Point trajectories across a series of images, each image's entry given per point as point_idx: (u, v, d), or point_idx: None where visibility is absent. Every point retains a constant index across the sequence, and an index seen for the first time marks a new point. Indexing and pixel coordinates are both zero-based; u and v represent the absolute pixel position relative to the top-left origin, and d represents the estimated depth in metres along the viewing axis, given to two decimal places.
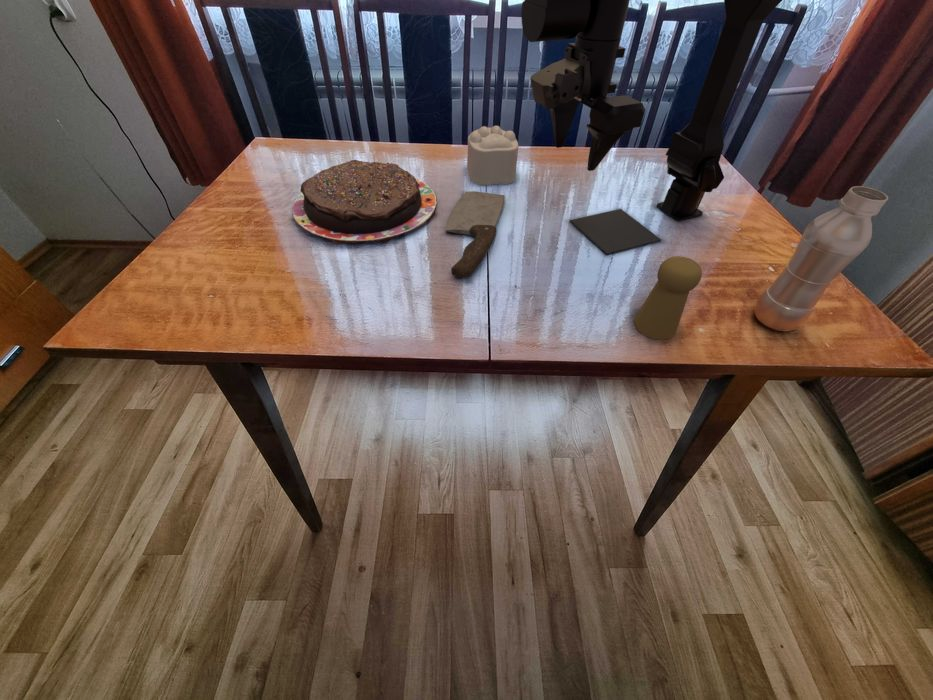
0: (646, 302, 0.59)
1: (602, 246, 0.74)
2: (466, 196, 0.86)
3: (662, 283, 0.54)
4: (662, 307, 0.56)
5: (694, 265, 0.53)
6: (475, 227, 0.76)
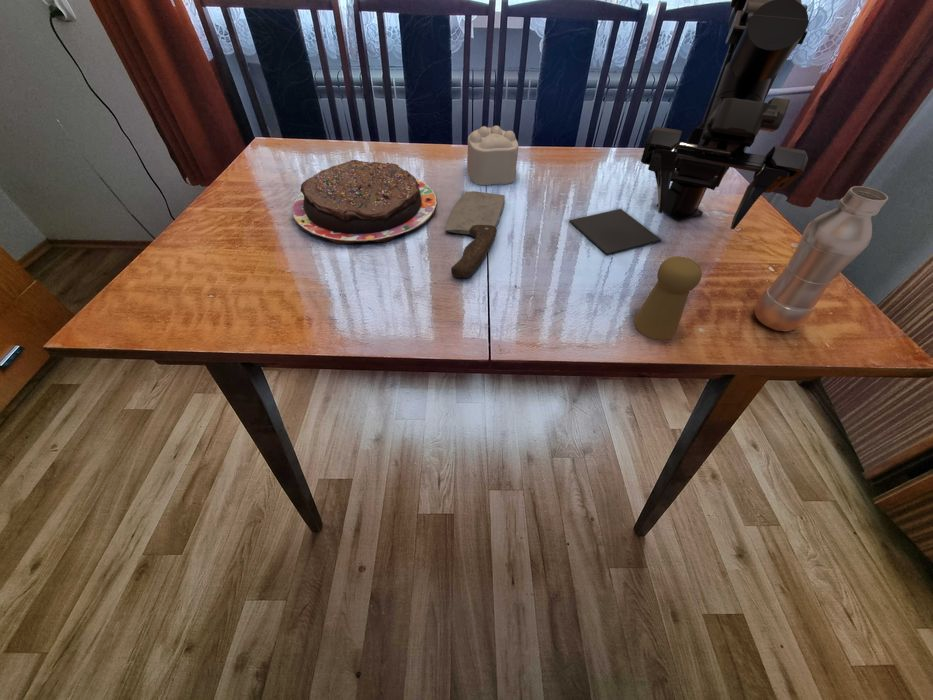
0: (646, 302, 0.59)
1: (602, 246, 0.74)
2: (466, 196, 0.86)
3: (662, 283, 0.54)
4: (662, 307, 0.56)
5: (694, 265, 0.53)
6: (475, 227, 0.76)
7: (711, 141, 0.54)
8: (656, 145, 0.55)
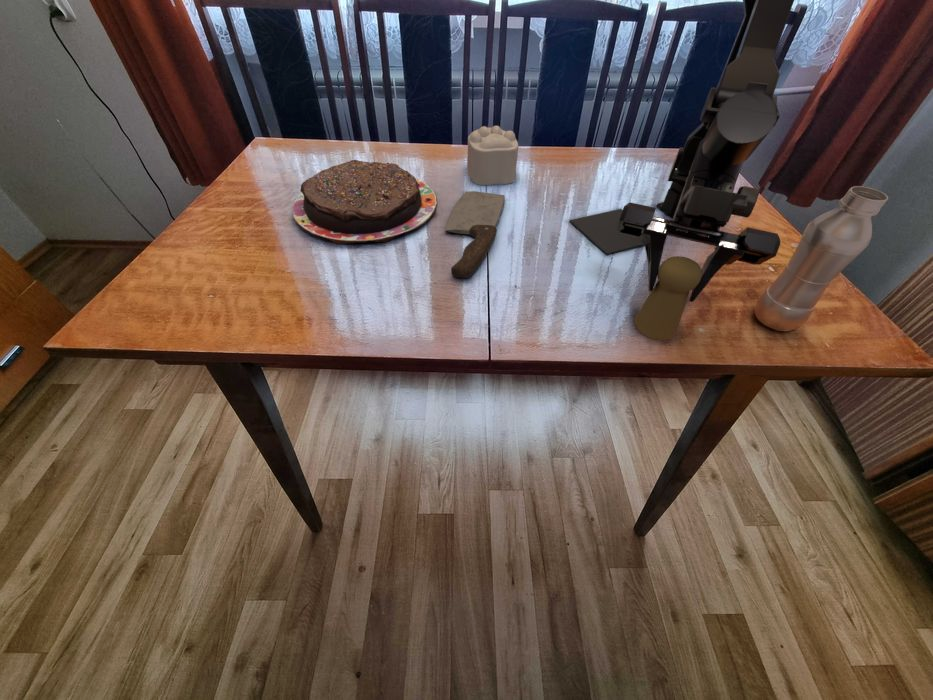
0: (646, 302, 0.59)
1: (602, 246, 0.74)
2: (466, 196, 0.86)
3: (662, 283, 0.54)
4: (662, 307, 0.56)
5: (694, 265, 0.53)
6: (475, 227, 0.76)
7: (685, 219, 0.54)
8: (630, 222, 0.55)
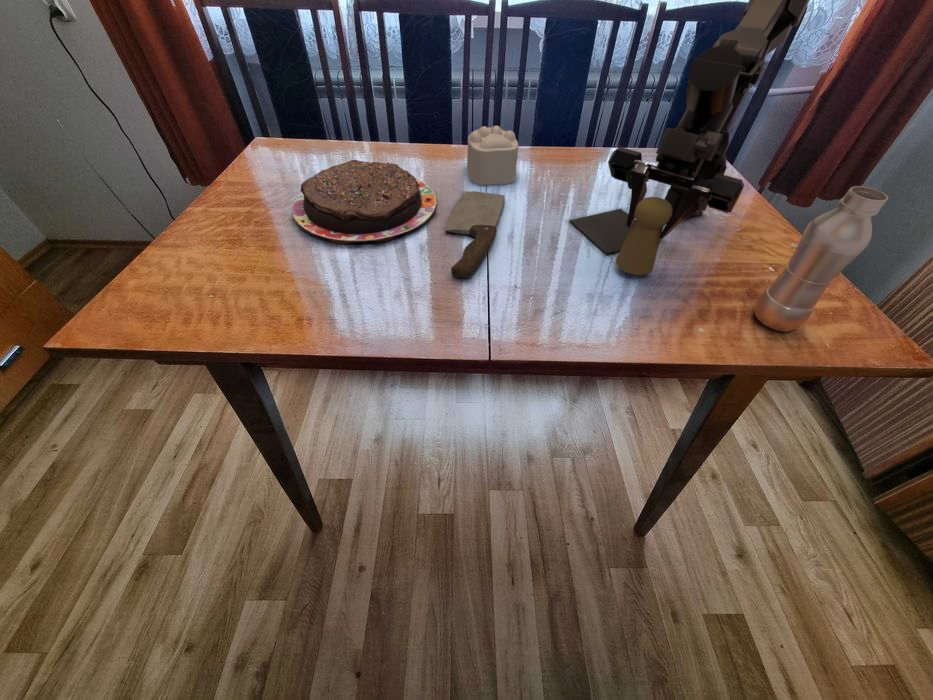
0: (626, 239, 0.67)
1: (602, 246, 0.74)
2: (466, 196, 0.86)
3: (636, 218, 0.63)
4: (636, 241, 0.64)
5: (665, 204, 0.61)
6: (475, 227, 0.76)
7: (664, 164, 0.61)
8: (616, 163, 0.63)
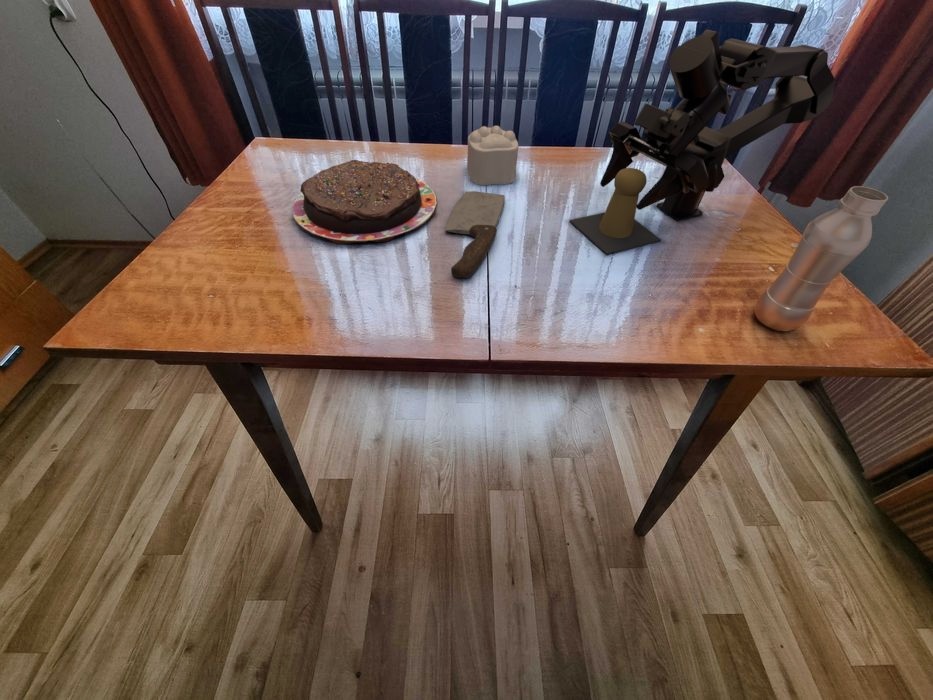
0: None
1: (602, 246, 0.74)
2: (466, 196, 0.86)
3: (614, 184, 0.73)
4: (611, 205, 0.74)
5: (638, 174, 0.70)
6: (475, 227, 0.76)
7: (650, 139, 0.70)
8: (613, 134, 0.73)
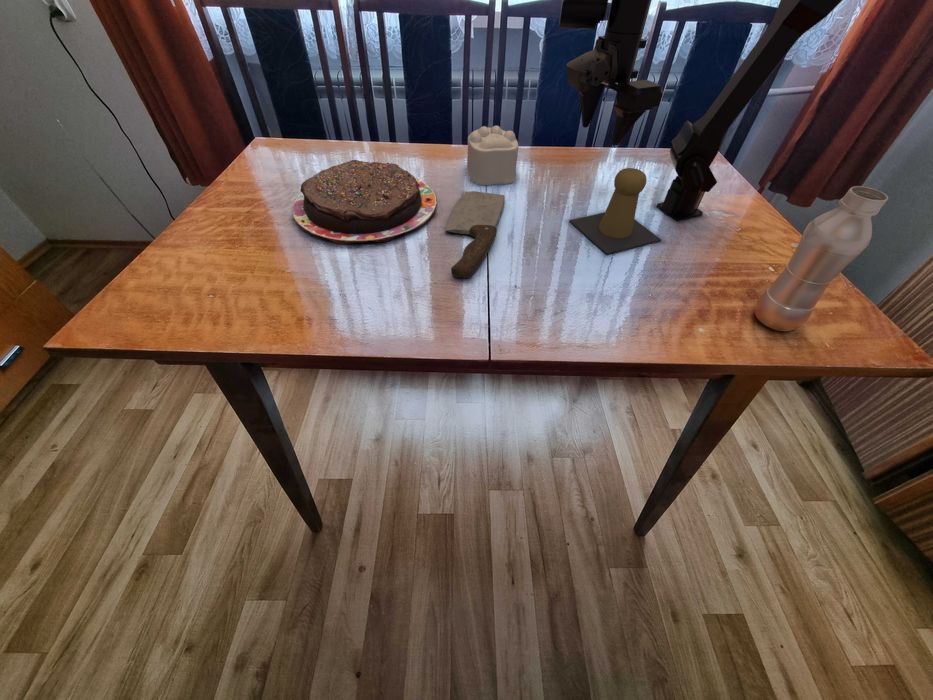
0: None
1: (602, 246, 0.74)
2: (466, 196, 0.86)
3: (614, 184, 0.73)
4: (611, 205, 0.74)
5: (638, 174, 0.70)
6: (475, 227, 0.76)
7: None
8: None
